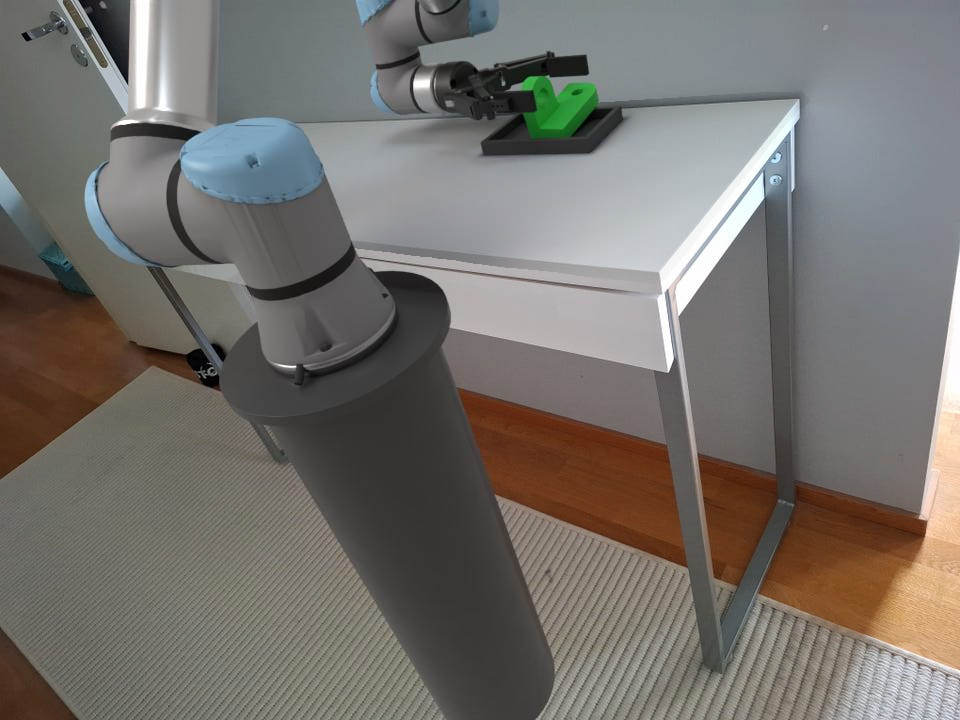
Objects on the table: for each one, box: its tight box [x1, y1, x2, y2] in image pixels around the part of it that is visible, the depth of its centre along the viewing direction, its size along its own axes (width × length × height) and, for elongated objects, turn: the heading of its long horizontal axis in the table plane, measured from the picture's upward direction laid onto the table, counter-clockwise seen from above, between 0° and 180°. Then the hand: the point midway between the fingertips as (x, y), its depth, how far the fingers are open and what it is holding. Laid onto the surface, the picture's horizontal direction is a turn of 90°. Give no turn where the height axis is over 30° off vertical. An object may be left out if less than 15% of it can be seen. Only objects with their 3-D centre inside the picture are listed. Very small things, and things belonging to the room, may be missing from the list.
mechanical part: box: [520, 76, 600, 138], centre depth 96 cm, size 12×6×8 cm, turn 142°
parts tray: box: [480, 105, 624, 156], centre depth 98 cm, size 12×18×2 cm, turn 58°
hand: (561, 82), depth 92 cm, fingers open, 13 cm apart
